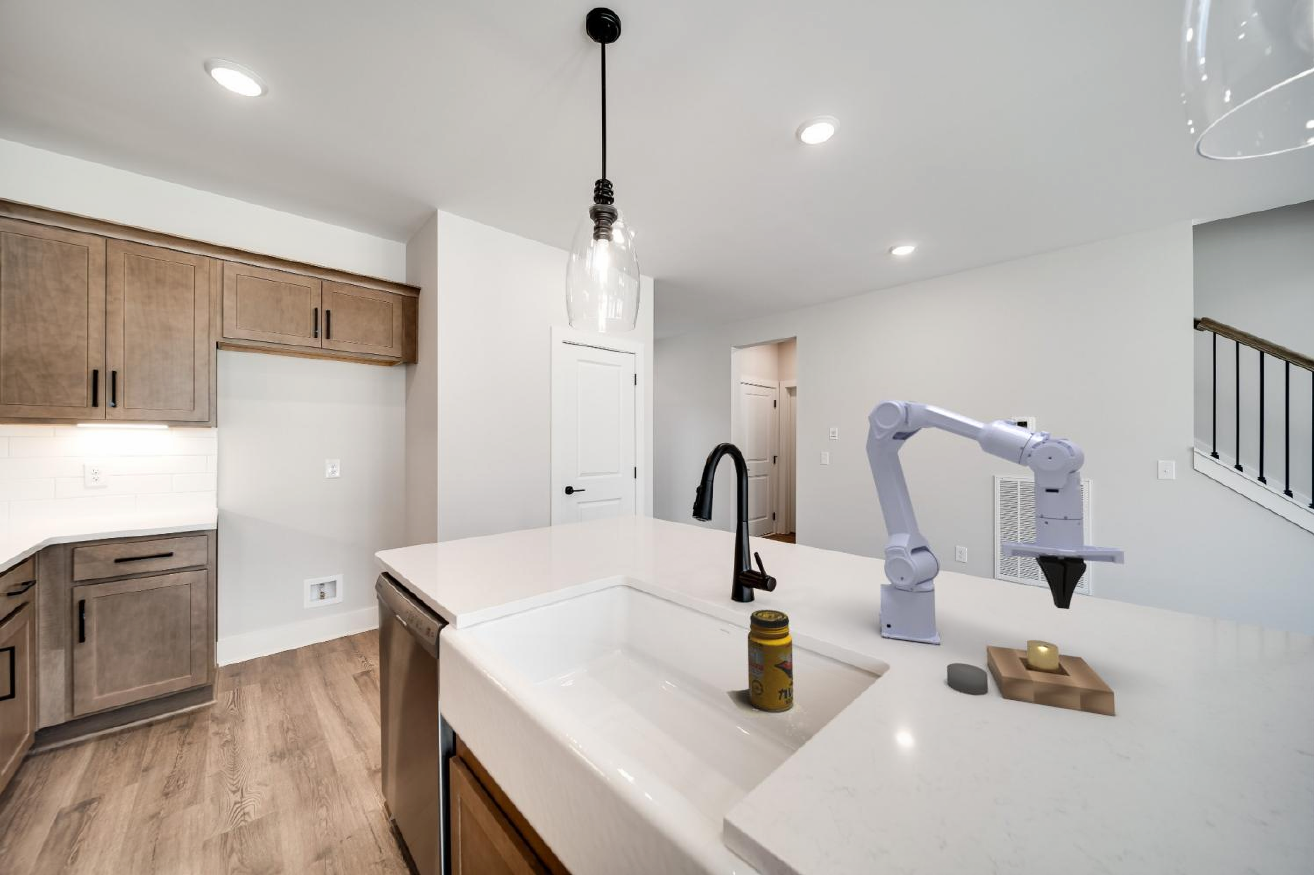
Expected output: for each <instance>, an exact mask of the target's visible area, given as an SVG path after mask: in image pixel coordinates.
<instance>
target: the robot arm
mask: <svg viewBox="0 0 1314 875" xmlns="http://www.w3.org/2000/svg"><path fill="white" fill-rule="evenodd" d="M867 417H868V418H867V419H868V423H869V429H868V435H867V439H866V443H865V444H866V445H865V449H866V451H865V452H866V454H867V458H868V462H869V465H870V470H871V473H872V477H873V482H874V485H875V486H874V487H875V490H876V494H877V497H878V500H879V503H880V508H881V511H882V512H881V513H882V515H883V520H884V524H885V527H886V530H887V535H888V538H887V541H886V543H885V546H884V548H883V550H884V555H885V561H884V565H883V567H884V570H883V571H884V575H885V576H886V578H887V580H888V581H889V582H890V584H889V583H888V584H887V583H886V584H883V583H881V584H880V613H879V614H878V615H879V616H878V617H879V620H878V621H879V624H881V637H883V636H884V637H883V638H888V637H890V638H891V639H897V640H907V641H910V642H911V641H912V642H920V643H927V644H928V643H929V644H935V645H936V644H937V645H940V644H941V639H940V636H939V633H938V629H937V627H936V626H937V625H936V624H937V623H936V622H937V621H936V596H935V594H936V592H935V590H936V588H935V583H934V579H935V578H936V577H938V575H939V573H940V571H941V564H940V560H939V558H938V557H937V556H936V554H935V553H934V551H932V548H931V546H930V544H929V540H928V539H927V538H926V537H925V536H923V535H922V533H921V532H920V529H919V525H918V522H917V519H916V515H915V512H914V508H913V505H912V501H911V500H912V499H911V496H910V494H909V493H910V492H909V490H908V486H907V482H906V478H905V476H904V470H903V468H902V464H901V460H900V457H899V454H898V452H899V451H900V449H901V448H902V447H903V446H904V444H905V443H906V442H907V440H908V439H910V438H911V437H913V436H914V435H916V434H917V433H918V432H919V431H921V430H922V429H932V428H936V429H940V430H943V431H944V432H945V431H946V432H949V433H952V434H955V435H958V436H961V437H964V438H967V439H970V440H973V441H976V442H977V443H978V444H979V446H980V447H981V450H982V451H983V452H985V453H987V454H990V455H992V456H995V457H998V458H1001V459H1003V460H1006V461H1009V462H1012V463H1014V464H1017V465H1019V466H1022V467H1028V468H1030V470H1031V471H1032V472H1033V475H1034V476H1033V477H1034V486H1033V491H1034V492H1033V493H1034V496H1033V497H1034V498H1033V499H1034V500H1033V501H1034V521H1035V523H1034V525H1035V528H1034V529H1035V530H1034V531H1035V542H1009V541H1007V542H1004V541H1001V555H1002V556H1004V557H1007V558H1010V557H1023V558H1035V560H1036V563H1037V564H1038V567H1039V568H1040V570H1041V571H1042V573H1043V575H1044V577H1045V579H1046V583H1047V584H1048V587H1049V590H1050V593H1051V596H1052V599H1053V604H1054V606H1055V607H1056V608H1057V609H1063V610H1070V607H1071V601H1072V599H1073V595H1074V591H1075V589H1076V587H1077V585H1078V583H1079V582H1080V580H1081V578H1082V577H1083V575H1084V574H1085V572H1086V570H1087V566H1088V565H1087V563H1085V562H1084V561H1088V562H1100V563H1101V562H1104V563H1113V564H1117V565H1118V564H1120V565H1123V564H1125V557H1124V556H1125V554H1124V550H1123V549H1120V548H1118V547H1117V548H1114V547H1105V546H1104V547H1103V546H1102V547H1101V546H1093V545H1092V546H1090V545H1085V543H1084V542H1085V540H1084V539H1085V538H1084V520H1083V518H1084V515H1083V514H1084V513H1083V492H1082V487H1081V471H1079V470H1080V469H1081V468H1082V467H1083V465H1084V463H1085V454H1084V452H1083V450H1082V448H1081V447H1080V446H1079V445H1078V444H1076V443H1075V442H1072V441H1071V440H1069V439H1067V438H1065V437H1064V438H1063V437H1061V438H1053V439H1051V433H1050V432H1048V431H1046V430H1042V431H1040V432H1038V431H1035V430H1033V429H1030V428H1029V429H1028V428H1026V427H1023V426H1019V425H1018V421H1016V420H1013V419H1010V418H1008V419H1007V418H1006V420H1005V421H1003V420H1001V419H997V420H994V421H991V422H990V423H985V422H982V421H979V420H976V419H973V418H970V417H968V416H965V415H962V414H959V413H957V412H954V411H951V410H949V409H945V408H943V407H940V406H937V405H931V404H926V403H919V402H917V401H910V400H909V401H905V400H903V401H902V400H897V399H893V398H886V399H884V400H881V401H879V402H878V403H877V404H876V405H875V406H874V408H873V409H872V411H871V412H870V413H869V415H868V416H867ZM890 638H889V639H890Z"/></svg>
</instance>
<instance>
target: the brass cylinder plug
mask: <svg viewBox="0 0 1314 875" xmlns="http://www.w3.org/2000/svg"><path fill="white" fill-rule="evenodd" d="M1026 650H1027V667H1028V670H1029V671H1036V672H1043V673H1050V674H1057V675H1059V659H1058V654H1059V646H1058V645H1056V644H1053V643H1050V642H1047V641H1044V640H1043V641H1042V640H1036V639H1035V640H1034V639H1031V640H1027V641H1026Z"/></svg>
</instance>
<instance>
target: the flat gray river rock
mask: <svg viewBox="0 0 1314 875" xmlns="http://www.w3.org/2000/svg"><path fill="white" fill-rule="evenodd" d="M946 673H947V674H946V675H947V676H946V678H947V679H946V680H947V682H946V683H947V685H948V687H950V689H952V690H954V691H956V692H959V693H962V694H966V695H971V696H984V695H986V694H988V692H989V686H988V685H989V684H988V673H987V671H986V670H984V669H983V668H981V667H978V666H976V665H972V664H967V663H962V662H961V663H960V662H959V663H957V662H955V663H949V664H947V666H946Z"/></svg>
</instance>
